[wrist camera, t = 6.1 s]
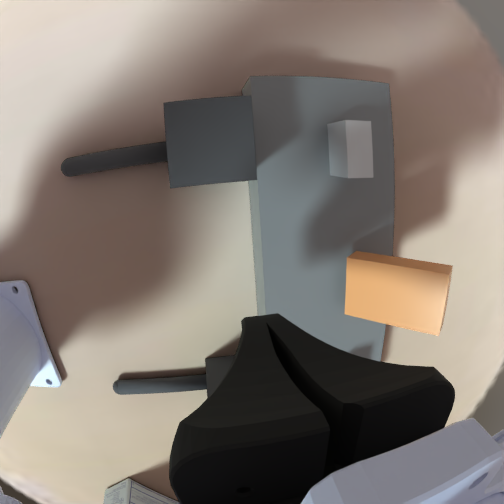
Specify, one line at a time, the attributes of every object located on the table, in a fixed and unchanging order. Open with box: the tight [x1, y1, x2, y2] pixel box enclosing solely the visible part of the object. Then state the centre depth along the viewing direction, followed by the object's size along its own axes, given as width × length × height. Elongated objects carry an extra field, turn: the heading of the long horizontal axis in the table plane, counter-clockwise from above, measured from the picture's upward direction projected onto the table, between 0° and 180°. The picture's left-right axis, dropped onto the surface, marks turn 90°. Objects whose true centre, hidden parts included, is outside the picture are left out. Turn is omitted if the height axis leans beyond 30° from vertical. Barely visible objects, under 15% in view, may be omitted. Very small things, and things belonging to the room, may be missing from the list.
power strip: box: [242, 76, 395, 361], centre depth 16 cm, size 7×20×5 cm, turn 4°
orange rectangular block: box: [345, 251, 452, 336], centre depth 14 cm, size 1×3×5 cm
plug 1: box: [61, 96, 257, 188], centre depth 13 cm, size 10×3×6 cm, turn 94°
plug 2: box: [113, 355, 235, 397], centre depth 17 cm, size 10×3×6 cm, turn 94°
